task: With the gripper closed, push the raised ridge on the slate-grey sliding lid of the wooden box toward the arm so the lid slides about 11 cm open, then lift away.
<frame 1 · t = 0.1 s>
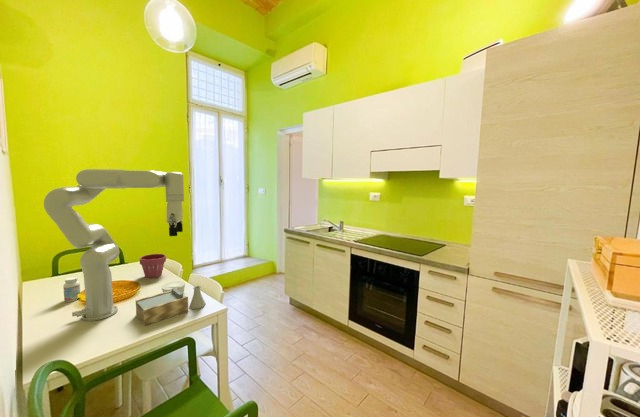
hand: (176, 233, 123), 37 cm above the table, tool pointing down, fingers open, 9 cm apart
wooden box: (162, 313, 122), on the table
flask: (197, 306, 129), on the table
pill bottle: (72, 299, 132), on the table
ramekin: (173, 294, 142), on the table
lid: (162, 297, 121), point 7 cm above the table, slide at 0.0 cm
plant pot: (153, 275, 167), on the table
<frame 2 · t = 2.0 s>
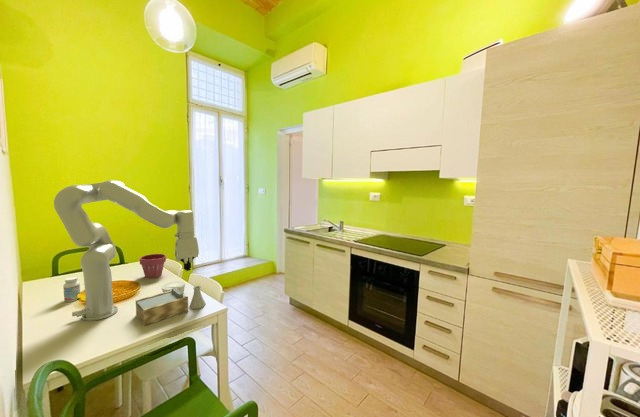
hand: (187, 270, 132), 17 cm above the table, tool pointing down, fingers closed
nothing on the table moved.
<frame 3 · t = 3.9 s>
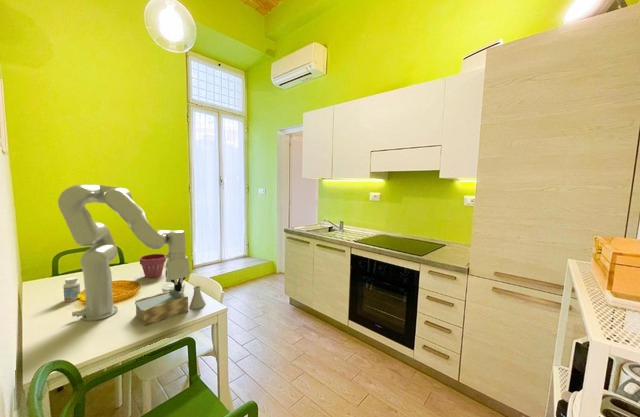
hand: (178, 290, 129), 7 cm above the table, tool pointing down, fingers closed
lid: (160, 298, 120), point 8 cm above the table, slide at 0.8 cm, touching gripper
everything else where it was.
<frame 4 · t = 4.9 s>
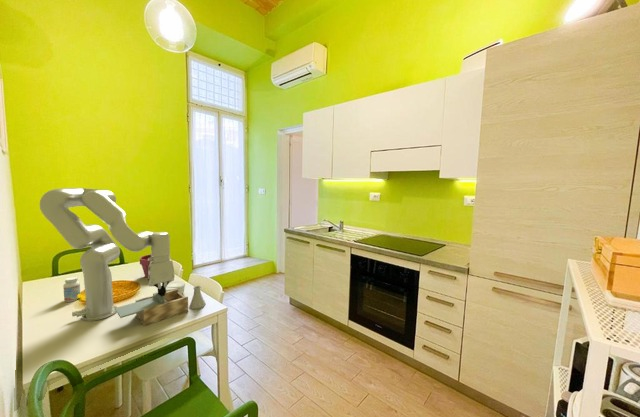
hand: (161, 295, 124), 7 cm above the table, tool pointing down, fingers closed
lid: (142, 303, 115), point 7 cm above the table, slide at 8.1 cm, touching gripper
everything else where it was.
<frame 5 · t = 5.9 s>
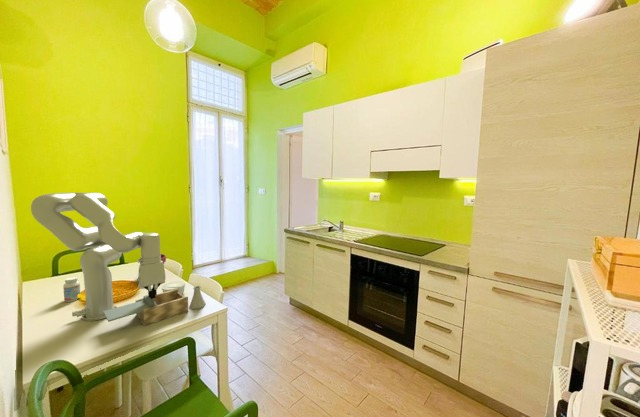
hand: (152, 297, 121), 7 cm above the table, tool pointing down, fingers closed
lid: (131, 306, 112), point 7 cm above the table, slide at 12.0 cm
everything else where it was.
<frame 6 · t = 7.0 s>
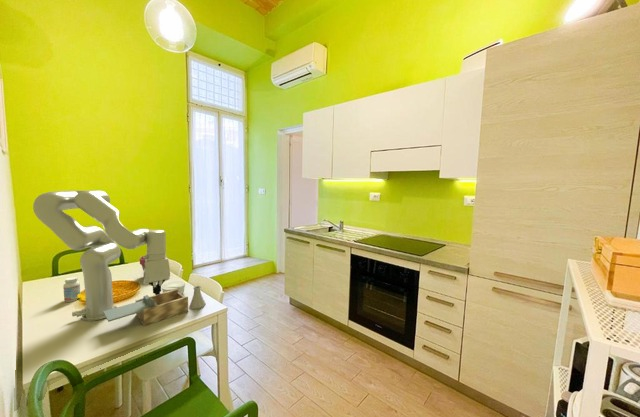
hand: (157, 293, 123), 9 cm above the table, tool pointing down, fingers closed
nothing on the table moved.
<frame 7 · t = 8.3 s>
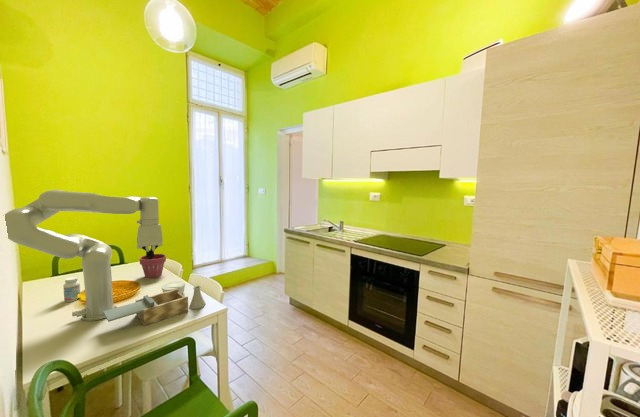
hand: (150, 258, 128), 24 cm above the table, tool pointing down, fingers closed
nothing on the table moved.
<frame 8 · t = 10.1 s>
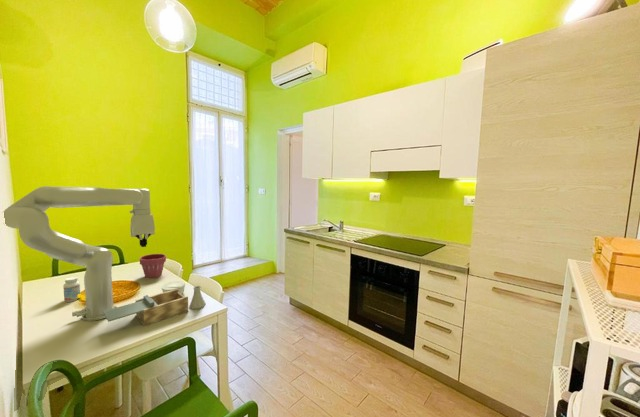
hand: (143, 246, 137), 27 cm above the table, tool pointing down, fingers closed
nothing on the table moved.
at the end: lid slide at 12.0 cm; flask moved 0.3 cm from its start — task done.
